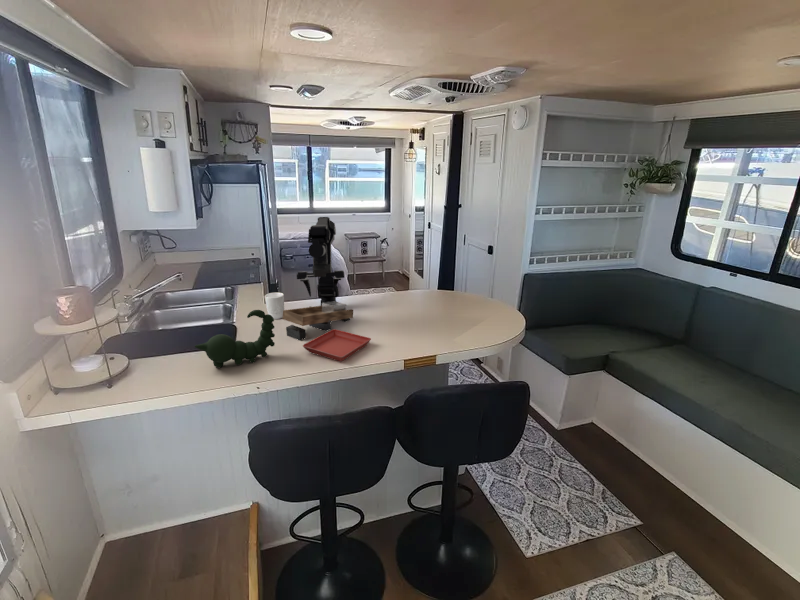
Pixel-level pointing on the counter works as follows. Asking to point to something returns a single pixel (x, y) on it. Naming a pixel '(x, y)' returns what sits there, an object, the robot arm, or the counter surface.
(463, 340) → the counter surface
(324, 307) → the steel block
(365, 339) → the plant saucer
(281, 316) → the white cup
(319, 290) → the robot arm
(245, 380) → the counter surface
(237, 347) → the toy figurine
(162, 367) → the counter surface
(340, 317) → the wooden tray
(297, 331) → the stand
